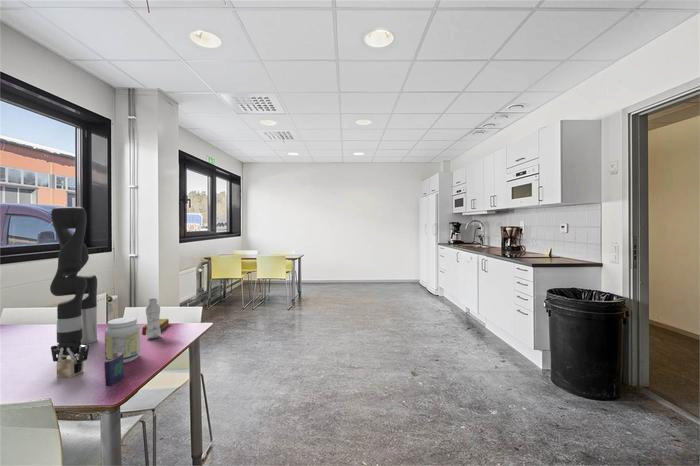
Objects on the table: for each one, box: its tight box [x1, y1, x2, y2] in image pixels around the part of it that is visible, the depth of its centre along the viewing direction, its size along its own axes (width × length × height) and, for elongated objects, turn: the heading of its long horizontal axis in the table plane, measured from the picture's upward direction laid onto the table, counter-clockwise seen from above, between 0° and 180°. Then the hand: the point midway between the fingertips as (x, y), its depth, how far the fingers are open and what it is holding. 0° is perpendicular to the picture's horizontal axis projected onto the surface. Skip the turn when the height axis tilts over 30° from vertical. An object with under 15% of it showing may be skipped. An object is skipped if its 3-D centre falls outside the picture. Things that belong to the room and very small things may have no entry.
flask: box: [104, 352, 125, 387], centre depth 118 cm, size 9×3×11 cm, turn 8°
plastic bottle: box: [145, 298, 162, 340], centre depth 165 cm, size 6×7×20 cm
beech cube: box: [56, 356, 84, 379], centre depth 124 cm, size 6×6×6 cm
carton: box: [141, 318, 170, 335], centre depth 180 cm, size 8×16×4 cm, turn 13°
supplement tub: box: [104, 316, 141, 364], centre depth 138 cm, size 12×12×17 cm
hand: (70, 372), depth 124 cm, fingers closed on beech cube, 5 cm apart
